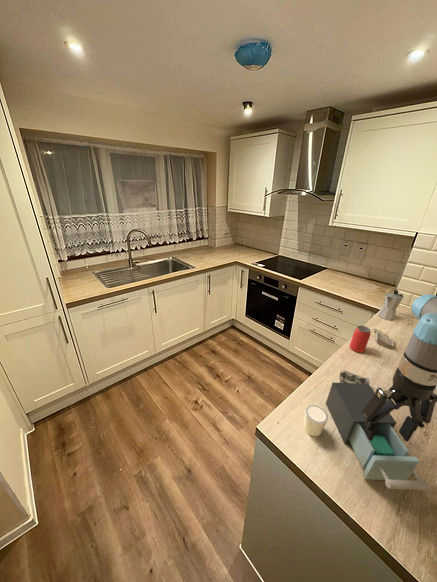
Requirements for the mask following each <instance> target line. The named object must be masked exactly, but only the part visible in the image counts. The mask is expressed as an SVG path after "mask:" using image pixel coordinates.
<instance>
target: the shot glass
mask: <svg viewBox="0 0 437 582" xmlns="http://www.w3.org/2000/svg"><path fill="white" fill-rule="evenodd" d="M328 420H329V415H328V413H327V411H326V410H325V409H324V408H322V407H321V406H319V405H318V404H309V405H307V406H306V407H305V409H304V419H303V424H302V425H303V426H302V427H303V430H304V431H305V432H306V433H307V434H308V435H310V436H313V437H319V436H320V435H321V434H322V431H323V430H324V428H325V426H326V425H327V422H328Z"/></svg>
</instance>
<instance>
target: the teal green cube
mask: <svg viewBox="0 0 437 582" xmlns="http://www.w3.org/2000/svg"><path fill="white" fill-rule="evenodd" d="M369 441H370V440H369ZM370 443H371V445H372V446H373V448H374V450H375V451H374V453H373V455H377V456H393V455H394V452H393V451H392V449H391V447H390V446H389V444H388V442H387V441H386V439H385V438H384V436H376V435H374V437H373V439H372V441H370ZM373 455H372V456H373ZM371 458H372V457H371Z"/></svg>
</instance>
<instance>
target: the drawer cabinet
mask: <svg viewBox="0 0 437 582" xmlns="http://www.w3.org/2000/svg"><path fill="white" fill-rule="evenodd" d="M375 393H376V391H375V390H374V389H373V388H372V387H371V384H370V383H369V384H363V383H339V382H332V384H331V386H330V389H329V392H328V395H327V398H326V401H325V405H326V407H327V409H328V411H329V414H330V415H331V418H332V419H333V422H334V425H335V427H336V429H337V431H338V433H339V435H340V437H341V439H342V442H343V444H345V445H347V444H348V445H351V443H350V441H349V438H350V435H351V433H352V431H353V428H354V426H355V424H356V423H365V422H366V420H365V418H364V417H363V415H362V413H361V412H362V411H363V409H364V408H365V407H366V405H367V404H368V403H369V402H370V400H371V399H372V398H373V396H374V395H375ZM378 423H379V424H390V425H391V426H392V427H393V429H394V428H395V427H396V425H397V421H396V419H395V418H394V417H393V416H392V414H391V412H390V413H389V414H388V415H386V416H385V417H384V418H383V419H381V420H380V421H379V422H378Z"/></svg>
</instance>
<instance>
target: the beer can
mask: <svg viewBox="0 0 437 582" xmlns="http://www.w3.org/2000/svg"><path fill="white" fill-rule="evenodd" d="M370 338H371V329H370V328H369V327H368V326H366V325H357V326H356V328H355V329H354V331H353V335H352V338H351V340H350V344H349V348H350V350H352V351H353V352H355V353H361V354H362V353H364V352H365V350H366V348H367V346H368V343H369V340H370Z"/></svg>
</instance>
